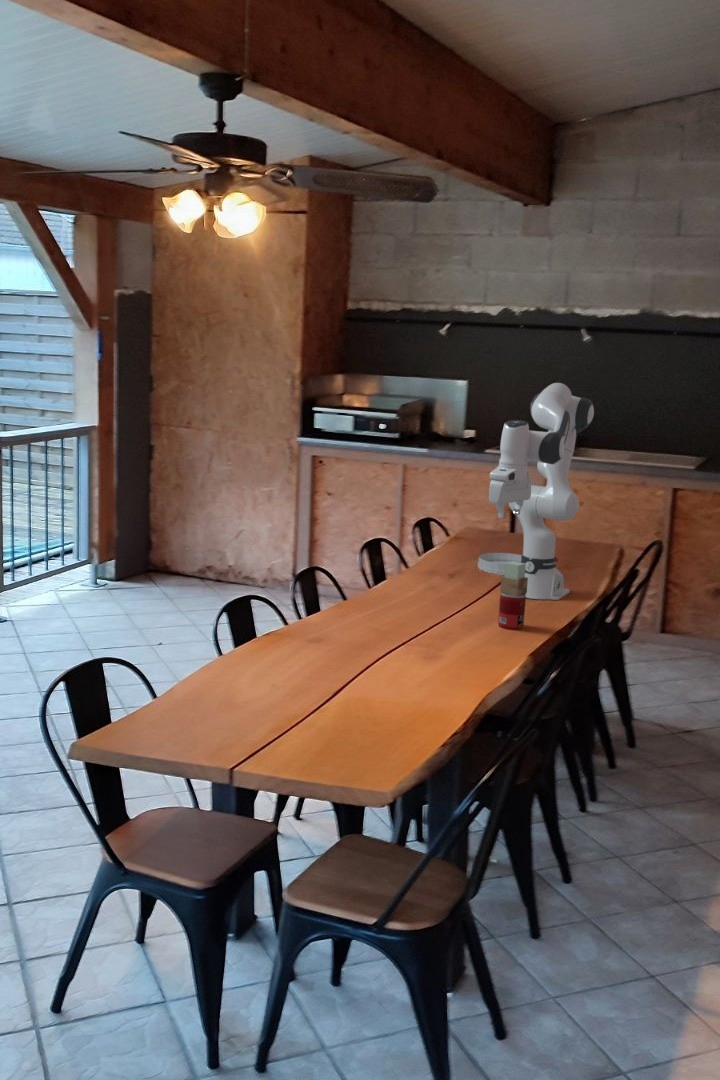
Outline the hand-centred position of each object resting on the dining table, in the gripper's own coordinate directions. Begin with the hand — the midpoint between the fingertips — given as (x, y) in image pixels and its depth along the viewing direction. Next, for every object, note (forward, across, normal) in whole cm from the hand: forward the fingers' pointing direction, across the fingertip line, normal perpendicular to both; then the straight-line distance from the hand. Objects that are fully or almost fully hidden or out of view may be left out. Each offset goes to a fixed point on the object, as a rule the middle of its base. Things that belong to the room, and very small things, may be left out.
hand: (509, 516), depth 336 cm
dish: (+35, -68, -39) cm, 86 cm away
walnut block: (+23, +4, +6) cm, 24 cm away
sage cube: (+18, +4, +6) cm, 20 cm away
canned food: (+34, +4, +6) cm, 35 cm away
